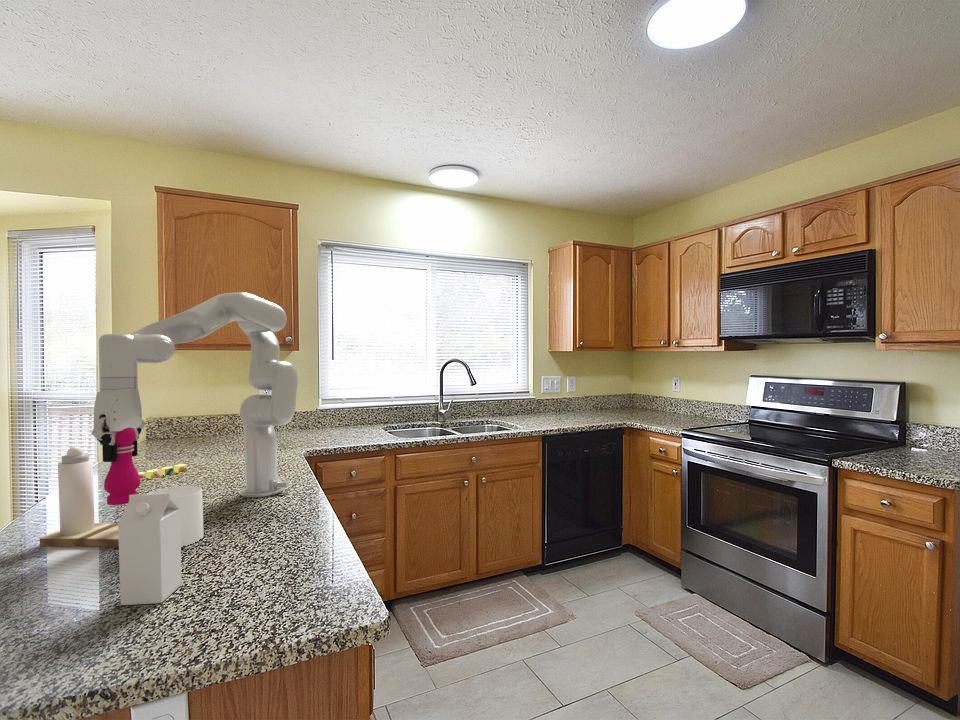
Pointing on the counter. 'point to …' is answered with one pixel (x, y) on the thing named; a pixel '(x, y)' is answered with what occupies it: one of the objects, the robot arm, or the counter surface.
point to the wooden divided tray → (85, 537)
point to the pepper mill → (122, 470)
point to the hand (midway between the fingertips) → (120, 458)
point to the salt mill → (76, 492)
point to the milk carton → (149, 549)
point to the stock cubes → (162, 471)
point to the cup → (187, 511)
